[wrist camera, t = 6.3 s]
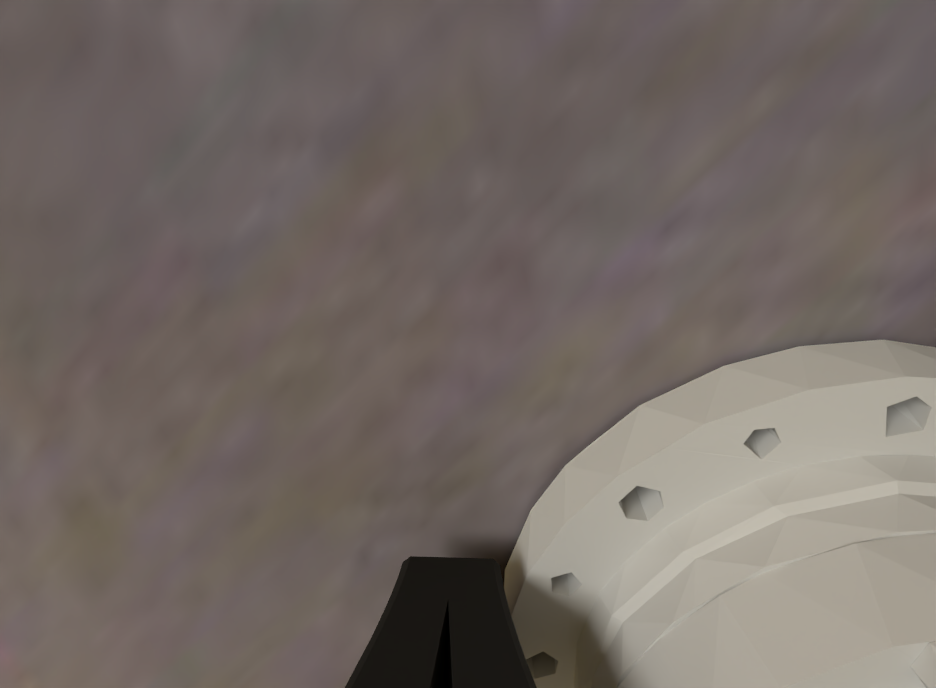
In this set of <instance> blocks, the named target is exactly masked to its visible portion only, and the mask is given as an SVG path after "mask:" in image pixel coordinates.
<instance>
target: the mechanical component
mask: <svg viewBox="0 0 936 688" xmlns="http://www.w3.org/2000/svg"><path fill="white" fill-rule="evenodd" d="M504 590H505V595H506V599H507V603H508V606H509V610H510V613H511V617H512V620H513V623H514V626H515V629H516V632H517V635H518V639H519V642H520V645H521V647H522V650H523V653H524V656H525V659H526V661H527V664H528V667H529V669H530V672H531V674H532V677H533V679H534V682H535V684H536V687H537V688H936V347H930V346H923V345H916V344H910V343H903V342H896V341H889V340H871V341H859V342H846V343H834V344H822V345H809V346H799V347H795V348H791V349H787V350H783V351H779V352H775V353H772V354H768V355H764V356H760V357H756V358H752V359H748V360H744V361H741V362H737V363H733V364H729V365H725V366H722V367H720V368H718V369H716V370H714V371H712V372H710V373H708V374H705V375H703V376H701V377H699V378H697V379H695V380H693V381H690V382H688V383H686V384H684V385H682V386H680V387H678V388H676V389H673V390H671V391H669V392H667V393H665V394H663V395H661V396H659V397H656V398H654V399H652V400H650V401H648V402H646V403H644V404H641V405H640V406H638V407H637V408H636V409H635V410H633V411H632V412H631V413H630V414H628V415H627V416H626V417H624V418H623V419H622V420H621V421H619V422H618V423H617V424H616V425H614V426H613V427H612V428H611V429H609V430H608V431H607V432H605V433H604V434H603V435H602V436H600V437H599V438H598V439H597V440H595V441H594V442H593V443H592V444H590V445H589V446H588V447H587V448H585V449H584V450H583V451H582V452H581V453H579V454H578V455H577V456H576V457H575V458H574V459H572V460H571V461H570V462H569V463H568V464H566V465H565V466H564V468H563V469H562V470H561V472H560V473H559V474H558V475H557V477H556V478H555V479H554V481H553V482H552V483H551V484H550V486H549V487H548V488H547V490H546V491H545V492H544V493H543V495H542V496H541V497H540V499H539V500H538V501H537V503H536V504H535V505H534V506H533V508H532V509H531V511H530V513H529V516H528V518H527V520H526V522H525V525H524V527H523V529H522V532H521V534H520V536H519V538H518V541H517V543H516V545H515V548H514V550H513V552H512V554H511V557H510V559H509V561H508V564H507V566H506V568H505V577H504Z"/></svg>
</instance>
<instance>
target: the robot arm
mask: <svg viewBox="0 0 936 688" xmlns="http://www.w3.org/2000/svg"><path fill="white" fill-rule="evenodd" d="M345 688H537V687H536V684H535V682H534V679H533V677H532V674H531V672H530V669H529V667H528V664H527V661H526V659H525V656H524V653H523V650H522V647H521V645H520V642H519V639H518V635H517V632H516V629H515V626H514V623H513V620H512V617H511V613H510V610H509V606H508V603H507V599H506V595H505V590H504V586H503V581H502V576H501V568H500V565H499V564H498V563H497V562H496V561H495V560H494V559H478V558H445V557H409V558H408V559H407V560H405V561H404V562H403V564H402V567H401V570H400V573H399V576H398V579H397V581H396V584H395V586H394V589H393V592H392V594H391V596H390V599H389V601H388V603H387V606H386V608H385V610H384V612H383V614H382V617H381V619H380V621H379V623H378V625H377V627H376V629H375V631H374V633H373V635H372V638H371V640H370V641H369V643H368V645H367V647H366V649H365V651H364V653H363V655H362V657H361V658H360V660H359V662H358V664H357V666H356V668H355V670H354V672H353V674H352V675H351V677H350V679H349V681H348V683H347V685H346V687H345Z"/></svg>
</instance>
